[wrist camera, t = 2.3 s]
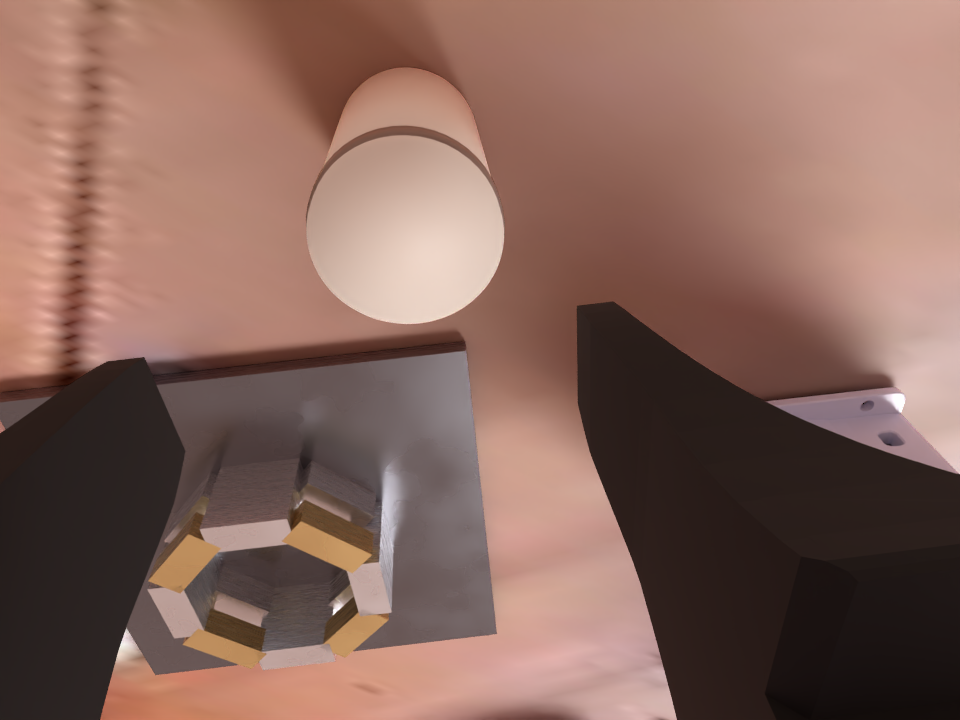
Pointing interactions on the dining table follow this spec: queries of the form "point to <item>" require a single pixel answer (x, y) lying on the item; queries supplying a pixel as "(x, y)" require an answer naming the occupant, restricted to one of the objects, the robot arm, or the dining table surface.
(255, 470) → the collar stand
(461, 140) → the beige round peg
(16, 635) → the robot arm
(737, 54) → the dining table surface
